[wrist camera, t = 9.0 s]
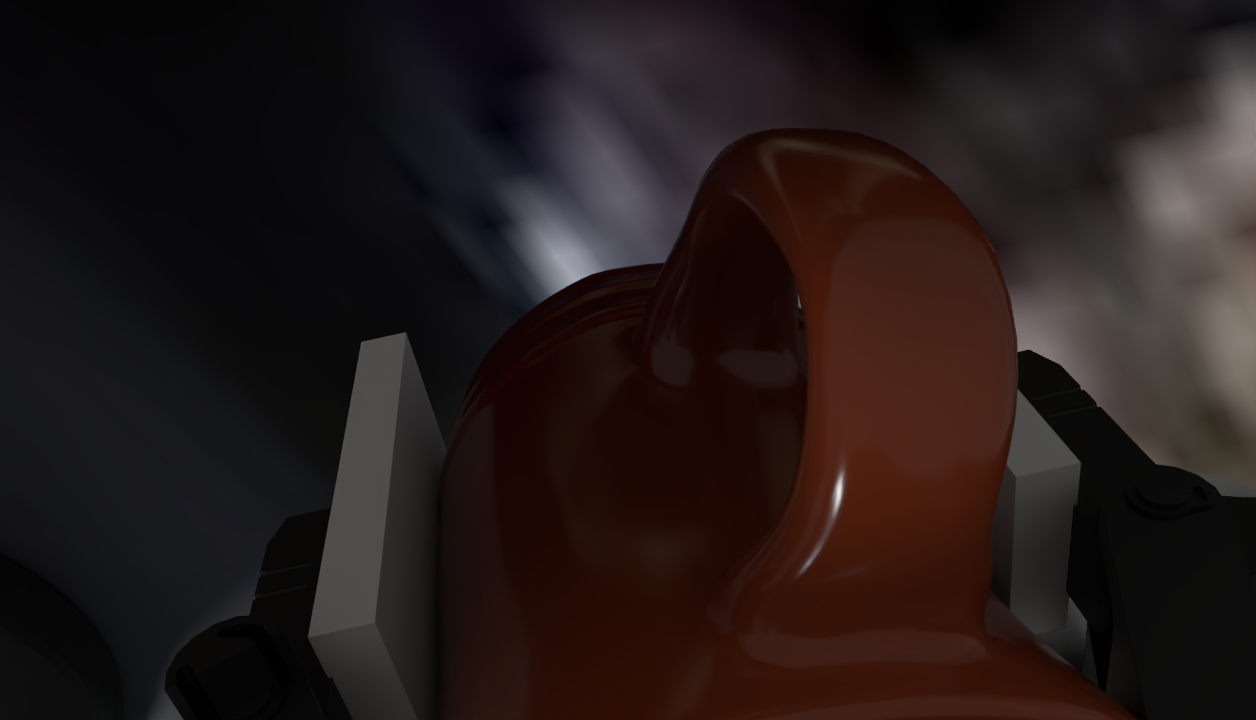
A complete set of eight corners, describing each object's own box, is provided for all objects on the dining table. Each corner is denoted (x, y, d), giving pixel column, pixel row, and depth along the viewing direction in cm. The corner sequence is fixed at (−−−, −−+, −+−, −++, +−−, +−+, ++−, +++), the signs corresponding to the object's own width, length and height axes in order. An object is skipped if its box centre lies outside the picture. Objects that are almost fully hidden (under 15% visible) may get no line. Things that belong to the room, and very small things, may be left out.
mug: (830, 587, 21) (1080, 1165, 13) (411, 602, 20) (367, 1263, 11) (979, 3, 15) (1663, 339, 6) (389, -37, 14) (253, 326, 5)
